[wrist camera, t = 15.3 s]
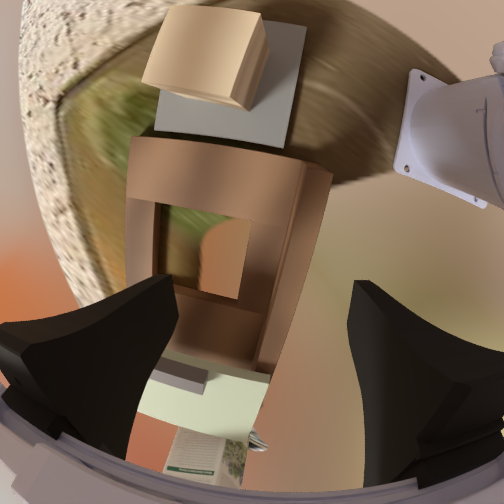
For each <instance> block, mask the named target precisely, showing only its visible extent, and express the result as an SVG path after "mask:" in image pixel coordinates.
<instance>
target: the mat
mask: <svg viewBox="0 0 504 504" xmlns="http://www.w3.org/2000/svg"><path fill="white" fill-rule="evenodd" d="M262 21H263V25H264V29H265V33H266V37H267V41H268V45H269V49H270V54H269V57H268V59H267V62H266V65H265V68H264V71H263V73H262V76H261V79H260V82H259V85H258V88H257V91H256V94H255V97H254V100H253V103H252V106H251V109H250V112H247V111H243V110H240V109H236V108H232V107H228V106H223V105H219V104H215V103H210V102H206V101H201V100H196V99H191V98H185V97H183V96H180V95H177V94H175V93H172V92H169V91H166V90H163V89H161V91H160V97H159V102H158V108H157V114H156V120H155V127H154V130H156V131H169V132H180V133H189V134H198V135H206V136H214V137H221V138H228V139H235V140H241V141H247V142H253V143H258V144H264V145H269V146H274V147H279V148H284V143H285V138H286V133H287V128H288V123H289V118H290V113H291V108H292V103H293V98H294V93H295V88H296V82H297V77H298V72H299V67H300V62H301V57H302V51H303V46H304V41H305V36H306V30H307V27H306V26H300V25H295V24H289V23H282V22H275V21H267V20H262Z"/></svg>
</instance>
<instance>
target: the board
mask: <svg viewBox="0 0 504 504" xmlns="http://www.w3.org/2000/svg"><path fill="white" fill-rule="evenodd" d="M333 175H334V174H333V173H331V172H330V171H329V170H327V169H326V168H324V167H323V166H321V165H320V164H317V163H313V162H308V161H304V160H300V159H295V158H291V157H286V156H282V155H277V154H272V153H267V152H262V151H256V150H251V149H245V148H239V147H233V146H227V145H220V144H214V143H206V142H199V141H190V140H181V139H172V138H161V137H148V136H131V142H130V151H129V161H128V173H127V188H126V212H125V258H126V281H127V288H128V287H130V286H132V285H134V284H136V283H138V282H140V281H143V280H145V279H147V278H149V277H151V276H154V275H157V274H158V261H159V236H160V219H161V205H162V203H164V204H169V205H175V206H180V207H185V208H190V209H195V210H201V211H206V212H211V213H216V214H221V215H226V216H230V217H235V218H240V219H245V220H250V221H252V226H251V231H250V236H249V242H248V246H247V252H246V258H245V262H244V268H243V273H242V278H241V284H240V289H239V295H238V300H236V299H232V298H228V297H224V296H220V295H216V294H212V293H208V292H204V291H200V290H196V289H192V288H188V287H184V286H180V285H176V284H173V286H174V291H175V297H176V302H177V307H178V312H179V319H178V322H177V324H176V327H175V330H174V332H173V335H172V337H171V339H170V341H169V343H168V344H167V346H166V349H169V350H172V351H176V352H179V353H182V354H186V355H189V356H193V357H196V358H200V359H204V360H207V361H211V362H215V363H219V364H223V365H227V366H231V367H236V368H240V369H244V370H249V371H254V372H259V373H264V374H269V375H270V381H271V378H272V376H273V373H274V370H275V367H276V365H277V362H278V359H279V356H280V354H281V351H282V348H283V345H284V342H285V339H286V337H287V334H288V331H289V328H290V325H291V322H292V319H293V316H294V313H295V310H296V307H297V303H298V301H299V297H300V294H301V291H302V288H303V285H304V281H305V278H306V275H307V272H308V268H309V265H310V261H311V258H312V255H313V251H314V247H315V244H316V240H317V237H318V233H319V230H320V226H321V222H322V219H323V215H324V211H325V207H326V203H327V199H328V195H329V191H330V187H331V183H332V179H333ZM269 384H270V383H269Z"/></svg>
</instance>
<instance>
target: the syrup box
mask: <svg viewBox="0 0 504 504" xmlns="http://www.w3.org/2000/svg"><path fill="white" fill-rule="evenodd" d="M249 437H250V433H249V436H248V438H247V440H246V443H245V442H240V441H235V440H230V439H226V438H221V437H217V436H213V435H209V434H205V433H201V432H198V431H194V430H191V429H187V428H184V427H181V426H179V428H178V431H177V433H176V436H175V439H174V442H173V444H172V447H171V450H170V453H169V455H168V458H167V461H166V464H165V466H164V469H163V472H162V473H163V474H167V475H170V476H174V477H178V478H182V479H186V480H190V481H195V482H200V483H205V484H210V485H216V486H222V487H228V488H235V489H241V485H242V479H243V473H244V466H245V462H246V455H247V450H248V444H249Z"/></svg>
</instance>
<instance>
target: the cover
mask: <svg viewBox="0 0 504 504" xmlns="http://www.w3.org/2000/svg"><path fill="white" fill-rule="evenodd" d="M269 383H270V375H269V374H264V373H259V372H254V371H249V370H244V369H240V368H236V367H231V366H227V365H223V364H219V363H215V362H211V361H207V360H204V359H200V358H196V357H193V356H189V355H186V354H182V353H179V352H176V351H172V350H169V349H166V348H165V350H164V352H163V354H162V355H161V357H160V359H159V361H158V363H157V364H156V366H155V368H154V370H153V372H152V374H151V376H150V378H149V380H148V382H147V384H146V387H145V389H144V392H143V395H142V397H141V400H140V403H139V406H138V409H137V411H138V412H141V413H143V414H146V415H148V416H151V417H154V418H157V419H159V420H162V421H165V422H168V423H171V424H174V425H178V426H181V427H184V428H187V429H191V430H194V431H198V432H201V433H205V434H209V435H213V436H217V437H221V438H226V439H230V440H235V441H240V442H245V443H246V440H247V438H248V436H249V433H250V431H251V429H252V426H253V424H254V421H255V419H256V417H257V414H258V412H259V409H260V407H261V404H262V402H263V399H264V397H265V394H266V391H267V388H268V386H269Z"/></svg>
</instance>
